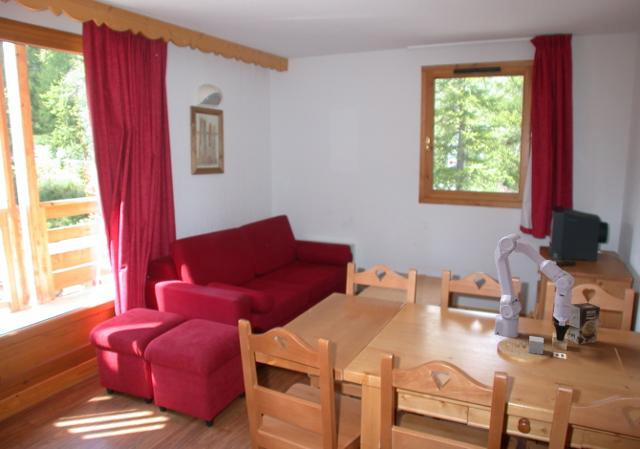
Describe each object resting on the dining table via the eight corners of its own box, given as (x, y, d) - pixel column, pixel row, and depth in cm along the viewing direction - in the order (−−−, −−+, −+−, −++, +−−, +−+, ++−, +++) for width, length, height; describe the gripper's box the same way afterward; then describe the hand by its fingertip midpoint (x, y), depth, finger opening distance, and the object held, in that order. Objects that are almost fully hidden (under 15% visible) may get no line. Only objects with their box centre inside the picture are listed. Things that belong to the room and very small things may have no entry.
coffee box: (578, 347, 193) (582, 309, 191) (566, 340, 200) (570, 303, 197) (596, 344, 196) (600, 307, 193) (584, 338, 202) (588, 302, 199)
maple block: (552, 348, 190) (553, 336, 189) (551, 343, 194) (552, 332, 193) (566, 350, 188) (567, 338, 187) (565, 345, 192) (566, 334, 191)
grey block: (528, 352, 185) (529, 340, 184) (528, 347, 190) (529, 335, 189) (542, 354, 183) (543, 342, 182) (542, 349, 188) (543, 337, 187)
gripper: (575, 311, 180) (571, 345, 182) (572, 300, 193) (569, 332, 195) (554, 308, 183) (551, 342, 185) (553, 297, 196) (550, 329, 198)
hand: (559, 336), depth 190 cm, fingers open, 7 cm apart
